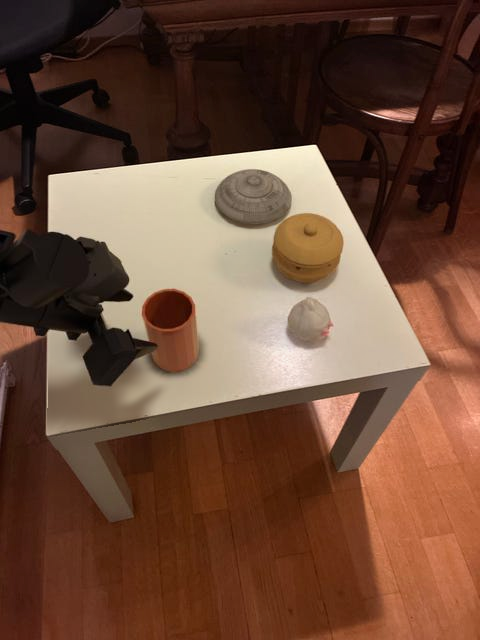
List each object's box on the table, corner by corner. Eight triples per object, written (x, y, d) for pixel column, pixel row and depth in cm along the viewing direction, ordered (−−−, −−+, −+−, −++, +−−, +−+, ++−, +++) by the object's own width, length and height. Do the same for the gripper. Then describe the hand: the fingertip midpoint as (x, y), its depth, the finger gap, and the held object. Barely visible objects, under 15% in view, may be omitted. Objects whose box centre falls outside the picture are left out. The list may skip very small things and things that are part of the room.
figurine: (318, 357, 75) (326, 328, 69) (278, 337, 77) (283, 306, 71) (335, 327, 78) (345, 297, 72) (297, 309, 80) (304, 277, 74)
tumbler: (150, 372, 73) (139, 331, 64) (153, 332, 77) (143, 289, 68) (198, 371, 73) (194, 330, 64) (198, 331, 77) (195, 288, 68)
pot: (343, 253, 88) (355, 211, 80) (326, 300, 81) (337, 260, 73) (282, 235, 90) (288, 193, 82) (260, 280, 84) (264, 239, 76)
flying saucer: (252, 168, 101) (253, 145, 97) (306, 203, 95) (310, 181, 91) (198, 200, 95) (197, 178, 91) (253, 241, 89) (254, 218, 85)
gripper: (99, 313, 46) (209, 334, 58) (48, 194, 55) (152, 234, 67) (42, 386, 50) (155, 391, 62) (3, 264, 59) (108, 289, 71)
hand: (143, 322), depth 65 cm, fingers open, 9 cm apart
